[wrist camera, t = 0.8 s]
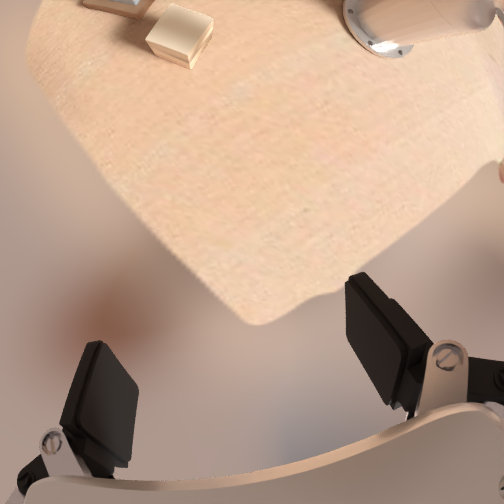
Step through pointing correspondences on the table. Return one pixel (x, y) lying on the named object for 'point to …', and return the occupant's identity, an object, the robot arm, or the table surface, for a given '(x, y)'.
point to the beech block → (180, 35)
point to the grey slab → (128, 1)
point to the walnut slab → (120, 7)
